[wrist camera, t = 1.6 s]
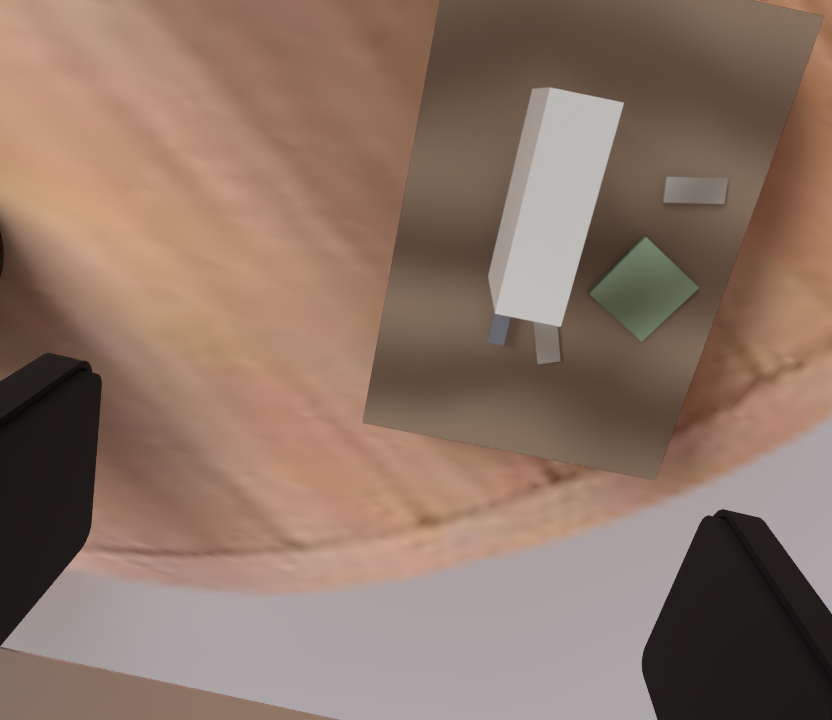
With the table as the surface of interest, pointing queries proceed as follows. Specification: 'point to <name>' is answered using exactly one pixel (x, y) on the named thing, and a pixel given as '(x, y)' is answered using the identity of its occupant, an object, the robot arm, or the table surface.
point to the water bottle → (1, 254)
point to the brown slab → (609, 228)
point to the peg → (549, 206)
